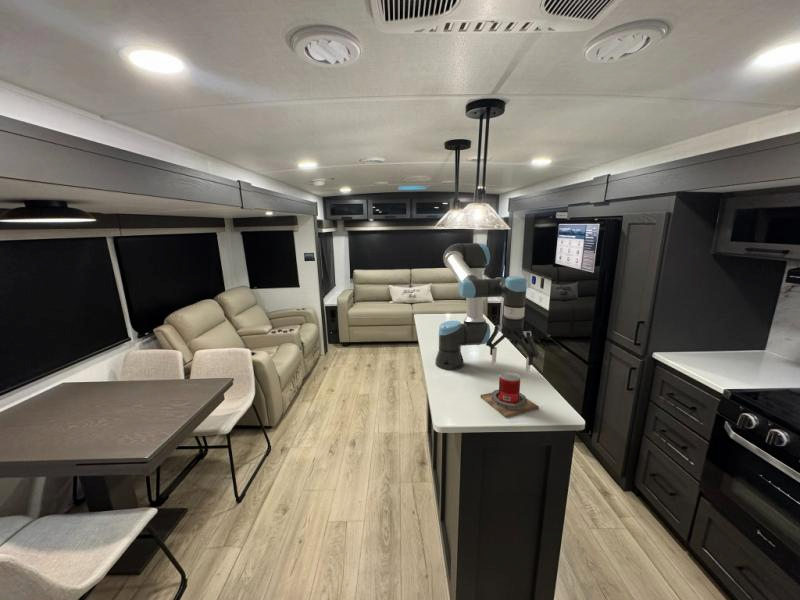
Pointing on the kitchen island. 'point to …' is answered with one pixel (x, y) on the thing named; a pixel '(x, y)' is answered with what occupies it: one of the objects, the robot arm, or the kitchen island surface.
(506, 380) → the canned food
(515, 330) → the robot arm
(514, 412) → the socket board
